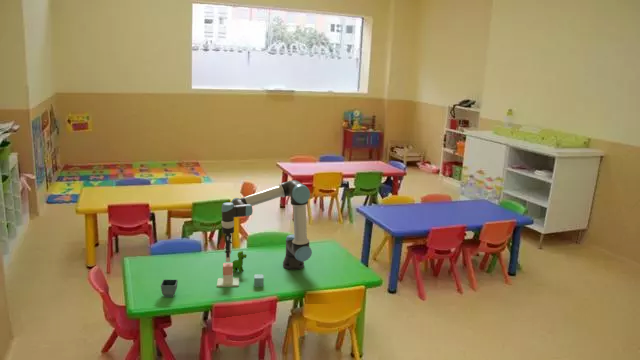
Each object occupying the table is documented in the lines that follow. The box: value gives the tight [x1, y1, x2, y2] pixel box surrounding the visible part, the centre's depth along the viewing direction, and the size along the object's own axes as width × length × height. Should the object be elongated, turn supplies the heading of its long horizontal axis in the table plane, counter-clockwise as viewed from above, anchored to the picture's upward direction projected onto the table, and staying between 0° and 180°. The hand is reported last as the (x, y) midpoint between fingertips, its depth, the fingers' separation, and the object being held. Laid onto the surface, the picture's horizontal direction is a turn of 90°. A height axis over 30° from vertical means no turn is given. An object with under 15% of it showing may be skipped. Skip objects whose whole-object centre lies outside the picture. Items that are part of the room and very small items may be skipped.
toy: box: [231, 250, 248, 274], centre depth 369 cm, size 6×14×15 cm, turn 78°
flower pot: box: [160, 279, 179, 298], centre depth 331 cm, size 9×9×9 cm
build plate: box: [216, 272, 240, 288], centre depth 352 cm, size 14×11×7 cm
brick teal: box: [253, 273, 265, 288], centre depth 351 cm, size 6×6×6 cm
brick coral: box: [222, 262, 234, 276], centre depth 350 cm, size 6×6×6 cm
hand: (228, 257), depth 348 cm, fingers open, 13 cm apart
